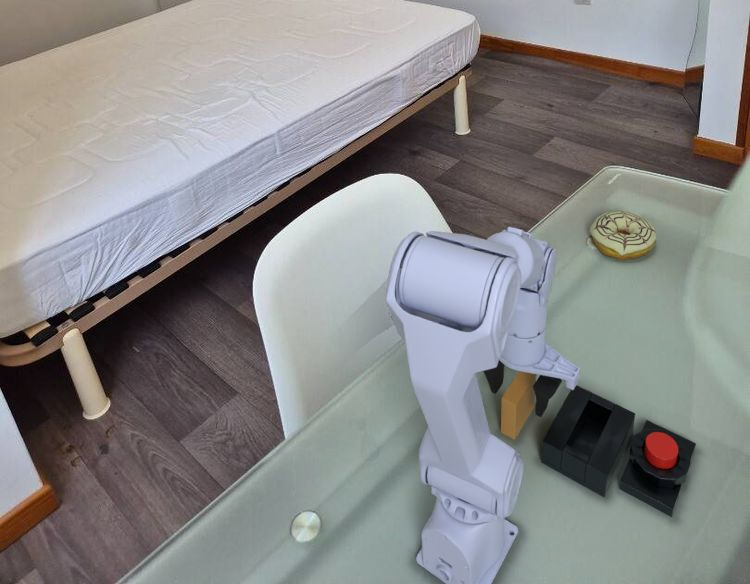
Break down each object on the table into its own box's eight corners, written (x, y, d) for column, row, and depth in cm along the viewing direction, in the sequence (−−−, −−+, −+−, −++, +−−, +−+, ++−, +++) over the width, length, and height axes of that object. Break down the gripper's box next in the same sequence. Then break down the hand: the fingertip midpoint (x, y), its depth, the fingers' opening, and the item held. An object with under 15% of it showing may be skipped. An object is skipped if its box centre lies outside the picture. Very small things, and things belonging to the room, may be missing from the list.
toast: (514, 440, 88) (516, 405, 85) (500, 432, 89) (501, 397, 86) (534, 406, 92) (536, 372, 89) (521, 399, 93) (522, 365, 90)
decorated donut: (577, 239, 122) (578, 222, 121) (618, 217, 127) (620, 200, 125) (624, 271, 114) (626, 253, 112) (667, 246, 119) (669, 229, 117)
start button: (671, 474, 80) (673, 465, 79) (640, 458, 82) (641, 449, 81) (680, 451, 82) (682, 441, 82) (649, 436, 84) (651, 426, 84)
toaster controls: (673, 519, 78) (677, 502, 77) (616, 487, 82) (619, 471, 80) (696, 451, 85) (700, 435, 84) (643, 425, 89) (645, 409, 87)
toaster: (604, 498, 81) (607, 476, 79) (540, 462, 85) (542, 441, 83) (632, 434, 88) (635, 413, 86) (572, 404, 92) (574, 383, 90)
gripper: (592, 324, 82) (584, 403, 88) (484, 278, 90) (483, 354, 96) (569, 364, 77) (562, 445, 83) (457, 312, 85) (458, 389, 91)
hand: (518, 398), depth 89 cm, fingers open, 6 cm apart
